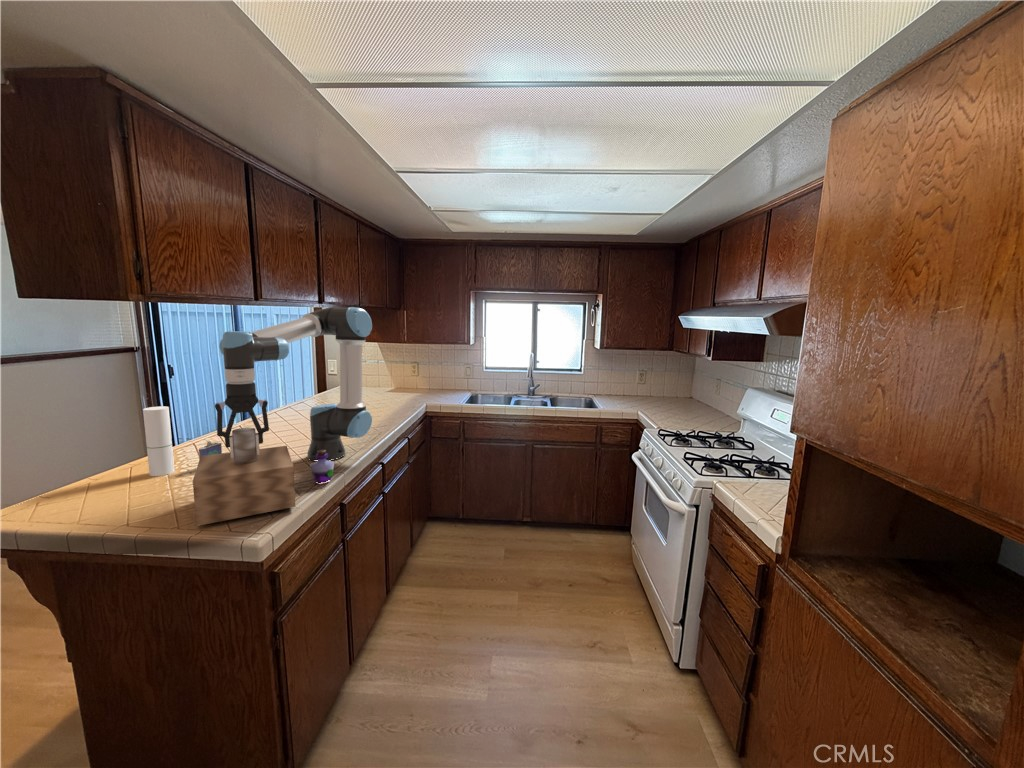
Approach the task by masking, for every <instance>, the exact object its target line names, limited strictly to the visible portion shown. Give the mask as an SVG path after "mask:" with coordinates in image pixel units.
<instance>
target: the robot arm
mask: <svg viewBox="0 0 1024 768" xmlns="http://www.w3.org/2000/svg"><path fill="white" fill-rule="evenodd" d="M372 322H373V321H372V318H371V316H370V315H369V313H368V312H367V311H366V310H365V309H363V308H360V307H356V306H355V307H354V306H351V307H349V306H348V307H347V306H344V307H342V306H341V307H337V306H332V307H331V306H329V307H325V308H321V309H318V310H315V311H312V312H308V313H305V314H303V316H302V317H300V318H297V319H293V320H289V321H285V322H283V323H280V324H276V325H273V326H268V327H265V328H261V329H258V330H254V331H251V332H250V331H243V330H241V331H231V330H230V331H229V330H228V331H224V332H223V334H222V338H221V340H220V341H219V345H218V348H219V352H220V353H221V355H223V362H224V380H225V382H226V384H225V394H226V397H225V400H224V401H222V402H216V403H214V408H215V410H216V413H217V414H216V415H217V416H216V418H217V419H216V423H217V424H216V435H217V437H223V438H224V443H225V444H224V445H225V448H229V449H230V450H229V451H230V452H231V458H234V451H233V437H232V434H231V433H232V429H233V426H234V423H235V419H236V417H237V414H241V413H248V415H249V416H250V419H251V421H252V423H253V425H254V428H255V430H256V450H257V455H260V453H259V449H260V445H261V444H263V443H264V433H266V432H269V431H270V427H269V426H270V425H269V420H268V412H267V408H268V400H267V399H259V398H258V396H257V391H256V390H257V389H256V388H257V387H256V382H254V381H255V380H256V375H255V374H256V371H255V362H256V363H258V362H268V361H281V360H284V359H286V358H287V357H288V356H289V354H290V346H289V344H290V343H294V342H296V341H298V340H302V339H305V338H308V337H312V338H316V337H319V336H320V337H321V336H335V341H336V343H338V345H339V393H340V394H339V395H340V396H339V397H340V398H339V399H340V400H339V403H337V402H336V403H325V404H319V405H315V406H313V407H311V408H310V413H309V421H310V422H309V424H310V439H311V440H310V444H309V447H308V449H307V455H306V456H307V460H308V459H310V460H318V459H316V454H317V451H319V450H326V453H328V458H326V460H331V459H336V458H339V457H341V456H343V455H345V456H346V448H345V445H344V443H343V441H342V438H341V437H346V438H350V439H353V438H355V439H360V438H363V437H364V436H366V435H367V434H368V432H369V431H370V429H371V427H372V423H373V416H372V414H371V412H369V411H368V410H367V405H366V403H364V402H363V344H364V343H366V341H367V337H368V336H369V335H370V334H371V332H372V331H373V330H372V329H373V323H372ZM257 404H259V407H261V414H262V421H263V427H261V424H260V422H259V420H258V418H257V416H256V414H255V411H254V407H256V405H257ZM225 406H227V407H228V408H229V409H230V410H231V414H230V417H229V419H228V423H227V426H226V429H225V431H223V418H224V417H223V416H224V415H223V414H224V413H223V410H224V409H225ZM230 452H229V453H230ZM310 460H309V461H310Z"/></svg>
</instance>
